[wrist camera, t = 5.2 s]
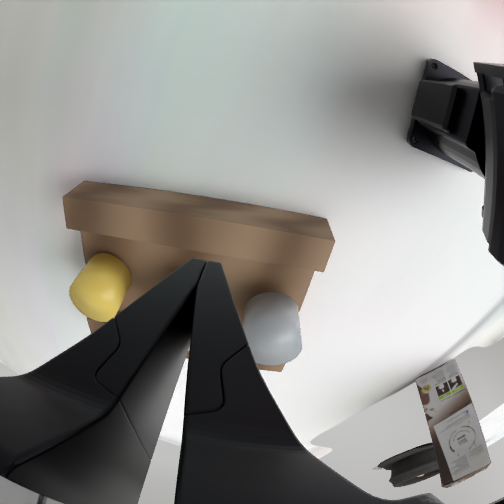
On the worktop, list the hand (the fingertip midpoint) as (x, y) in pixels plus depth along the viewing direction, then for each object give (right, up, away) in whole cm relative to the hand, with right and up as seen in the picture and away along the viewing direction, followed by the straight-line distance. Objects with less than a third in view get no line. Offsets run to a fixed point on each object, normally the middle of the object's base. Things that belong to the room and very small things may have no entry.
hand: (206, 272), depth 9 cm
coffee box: (+28, -18, +24) cm, 41 cm away
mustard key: (-10, -1, +13) cm, 17 cm away
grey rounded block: (+3, -4, +13) cm, 14 cm away
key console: (-4, -1, +15) cm, 15 cm away
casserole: (+43, -50, +45) cm, 80 cm away
